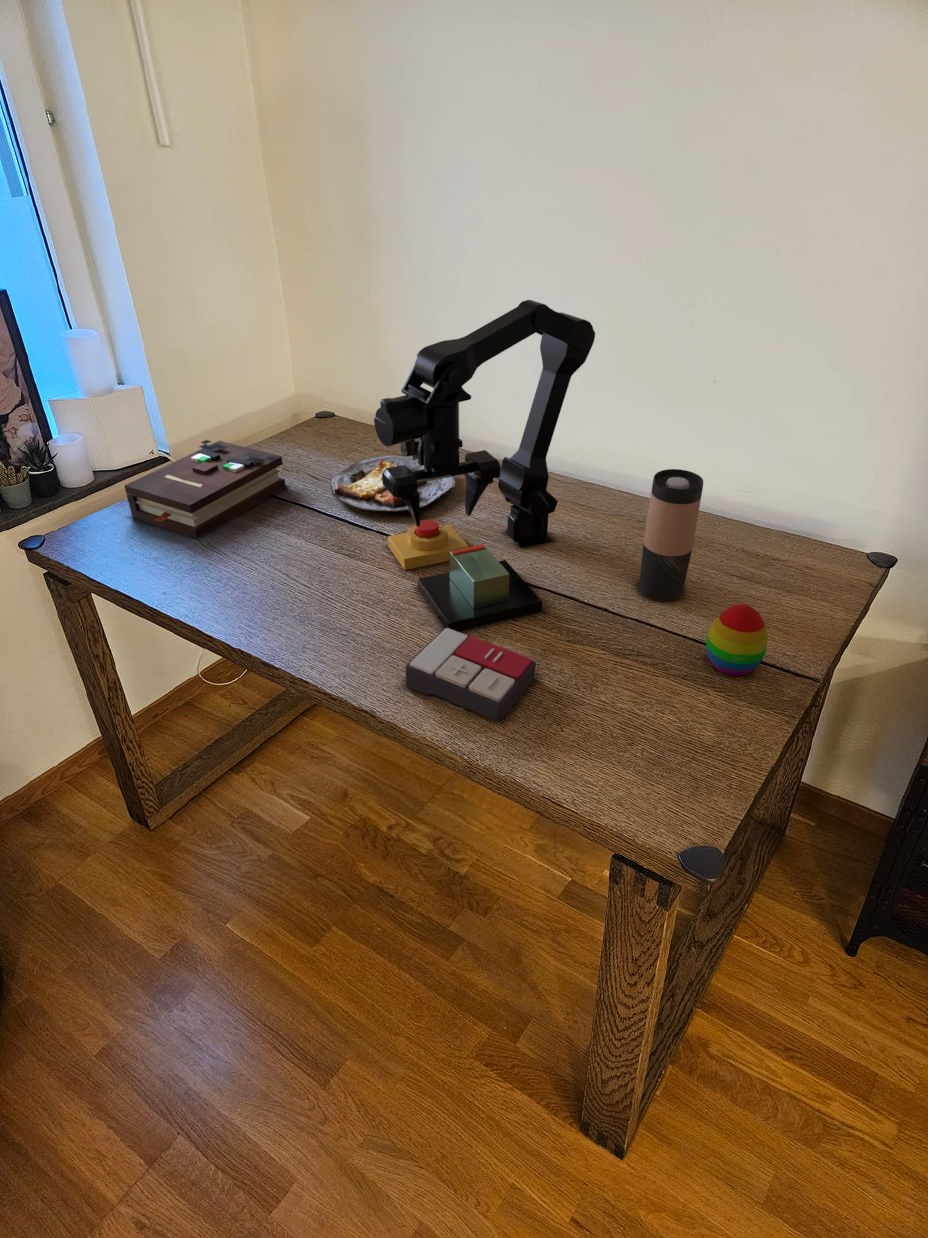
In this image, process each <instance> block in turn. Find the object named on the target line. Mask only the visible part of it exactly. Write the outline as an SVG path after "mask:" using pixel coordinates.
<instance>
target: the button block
mask: <svg viewBox="0 0 928 1238" xmlns="http://www.w3.org/2000/svg"><path fill="white" fill-rule="evenodd" d="M387 546H388V548H389V550H390V551H391V552H392V554H393V555H394V557H395V558H396V560H397V561H398V562H399V564H400V566H401V567H402V569H403V570H404V571H406V570H413V569H417V568H421V567H426V566H431V565H435V564H441V563H445V562H450V552H451V551H452V550H457V549H462V548H467V547H470V546H469V545H468V543H467V542H466V541H465V540H464V538H462V536H461V535H460V534H459V533H458V532H457V531H456V529H454V527H453V526H452V525H451V524H450V523H448V524H443V525H441V524H439V535H438V536H436V537H433V538H420V537H418V536H417V535H416V524H415V525H413V526H411V527H409V528H408V531H406V532H402V533H396V534H390V535H388V536H387Z"/></svg>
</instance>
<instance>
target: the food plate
mask: <svg viewBox="0 0 928 1238" xmlns="http://www.w3.org/2000/svg"><path fill="white" fill-rule="evenodd" d="M401 465H406V466H407V467H408V468H409V469H410V470H411V471H418V470H423V469H424V465H422V466H420V465H419V464H418V459H416V460H413V456H408V457H405V456H403V455H386V456H379V457H377V456H376V457H373V458H371V459H370V458H369V459H366V460H360V461H357V462H355V463H353V464H351V465H349V466H348V467H347V468H345V469H344V470H342V471H341V472H339V473H338V474H337V475H335V476H334V477H333V478H332V480H331V481H330V488H331V494H332V496H334V497H335V498H336V499H337V501H340V502H341V503H343V504H346V505H348V506H350V507H353V508H356V509H358V510H361V511H367V512H387V513H396V512H397V513H400V512H404V514H405V513H406V512H410V510H409V508H408V506H407V503H406V502H405V500H401V499H400V498H399V497H393V496H392V494H391V493H390V492H389V491H388V490H387V489H386V487H385V486H384V485H383V483H382V474H383V472H384V470H385V468H390V467H396V466H401ZM455 485H456V479H455V476H452V477H447V478H441V479H436V480H431V481H426V482H421V483H417V486H418V489H417V490H416V492H417V493H418V494H419V496H420V509H423V508H424V507H426V506H428V505H430V504H431V503H433V502H434V501H436V500H438V499H440V498H441V496H443V495H444V494H446V493H447V492H448V491H449V490H450V489H451V488H455Z"/></svg>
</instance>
